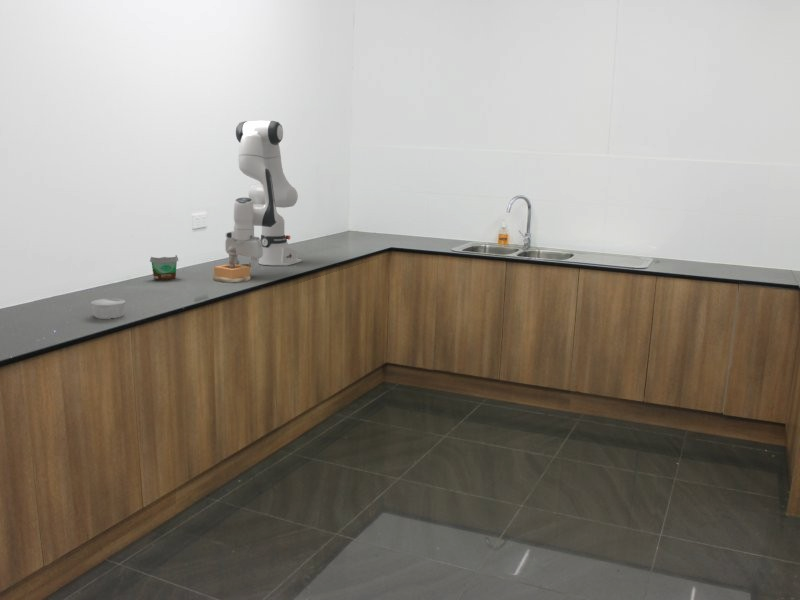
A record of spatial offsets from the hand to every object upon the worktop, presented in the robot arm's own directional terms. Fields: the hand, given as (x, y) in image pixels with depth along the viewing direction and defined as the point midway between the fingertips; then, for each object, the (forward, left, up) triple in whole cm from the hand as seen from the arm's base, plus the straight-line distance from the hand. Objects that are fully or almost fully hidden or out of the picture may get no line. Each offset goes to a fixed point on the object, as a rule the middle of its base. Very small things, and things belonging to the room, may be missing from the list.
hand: (244, 265), depth 349 cm
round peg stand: (+8, 0, -5) cm, 9 cm away
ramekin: (+84, +19, -5) cm, 86 cm away
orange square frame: (+5, 0, -4) cm, 6 cm away
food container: (+28, -19, -5) cm, 34 cm away
